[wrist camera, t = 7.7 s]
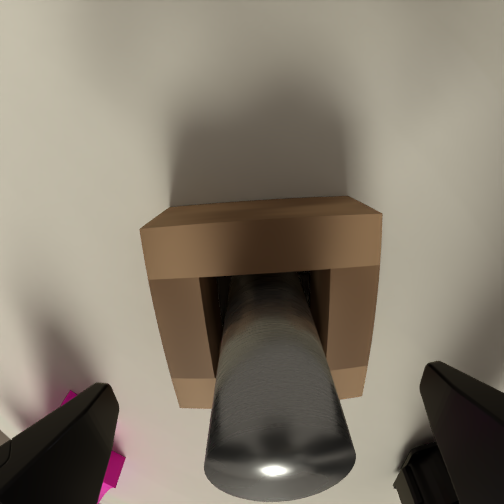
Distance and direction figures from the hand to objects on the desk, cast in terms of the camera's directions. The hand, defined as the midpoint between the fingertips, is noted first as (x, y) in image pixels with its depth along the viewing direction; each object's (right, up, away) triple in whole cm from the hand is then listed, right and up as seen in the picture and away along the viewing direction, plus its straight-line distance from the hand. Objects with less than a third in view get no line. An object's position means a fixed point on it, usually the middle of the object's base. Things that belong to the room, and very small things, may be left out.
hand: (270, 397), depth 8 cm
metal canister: (0, +2, +7) cm, 8 cm away
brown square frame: (0, +2, +7) cm, 8 cm away
